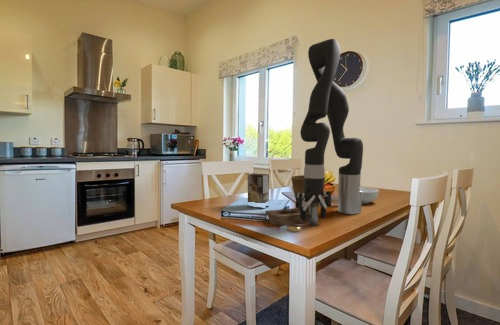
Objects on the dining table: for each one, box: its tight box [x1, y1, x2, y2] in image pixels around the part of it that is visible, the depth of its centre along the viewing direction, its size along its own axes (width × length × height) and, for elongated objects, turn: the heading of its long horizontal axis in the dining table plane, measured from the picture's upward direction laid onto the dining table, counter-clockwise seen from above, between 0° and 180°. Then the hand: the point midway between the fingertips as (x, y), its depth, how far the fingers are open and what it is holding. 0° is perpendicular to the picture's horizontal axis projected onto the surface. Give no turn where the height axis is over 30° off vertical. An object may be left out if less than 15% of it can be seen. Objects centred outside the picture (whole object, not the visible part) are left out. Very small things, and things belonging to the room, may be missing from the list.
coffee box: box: [247, 172, 270, 203], centre depth 133 cm, size 9×6×16 cm
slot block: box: [265, 207, 309, 227], centre depth 109 cm, size 14×10×4 cm
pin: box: [308, 206, 319, 227], centre depth 104 cm, size 3×3×7 cm
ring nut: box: [286, 224, 303, 233], centre depth 98 cm, size 5×5×2 cm
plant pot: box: [290, 174, 326, 213], centre depth 123 cm, size 15×15×16 cm
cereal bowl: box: [360, 186, 379, 205], centre depth 145 cm, size 17×17×7 cm
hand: (313, 218), depth 104 cm, fingers open, 8 cm apart
